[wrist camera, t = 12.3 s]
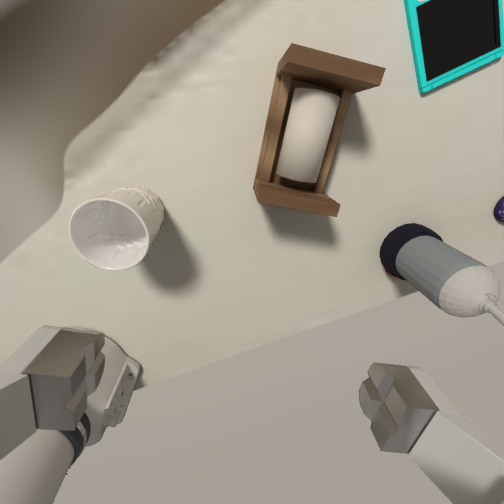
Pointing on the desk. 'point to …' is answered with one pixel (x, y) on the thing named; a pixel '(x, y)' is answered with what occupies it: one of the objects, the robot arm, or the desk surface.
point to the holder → (287, 79)
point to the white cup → (116, 227)
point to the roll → (307, 134)
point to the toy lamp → (499, 210)
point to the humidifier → (441, 272)
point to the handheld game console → (453, 37)
